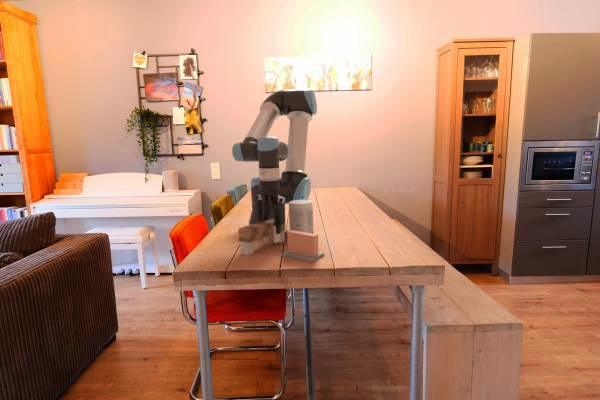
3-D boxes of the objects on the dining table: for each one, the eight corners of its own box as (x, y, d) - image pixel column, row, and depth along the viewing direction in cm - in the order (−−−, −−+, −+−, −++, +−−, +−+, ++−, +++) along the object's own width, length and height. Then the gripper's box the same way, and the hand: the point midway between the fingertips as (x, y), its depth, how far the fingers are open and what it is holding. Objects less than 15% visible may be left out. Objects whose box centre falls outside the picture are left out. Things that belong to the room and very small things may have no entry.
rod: (248, 243, 122) (247, 230, 122) (239, 241, 125) (238, 228, 124) (285, 230, 138) (284, 218, 137) (276, 228, 141) (276, 217, 140)
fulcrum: (281, 255, 122) (281, 233, 121) (296, 249, 128) (295, 228, 127) (310, 262, 115) (310, 238, 114) (324, 255, 121) (323, 232, 120)
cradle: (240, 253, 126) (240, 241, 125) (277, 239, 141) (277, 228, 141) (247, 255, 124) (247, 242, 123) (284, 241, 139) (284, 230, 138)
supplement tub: (306, 233, 150) (306, 198, 148) (317, 238, 142) (317, 202, 139) (285, 236, 146) (284, 200, 144) (295, 242, 138) (294, 204, 135)
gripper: (245, 179, 134) (248, 239, 138) (281, 181, 123) (283, 247, 128) (259, 177, 140) (261, 235, 144) (294, 179, 129) (296, 241, 133)
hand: (271, 240), depth 136 cm, fingers closed on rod, 4 cm apart
